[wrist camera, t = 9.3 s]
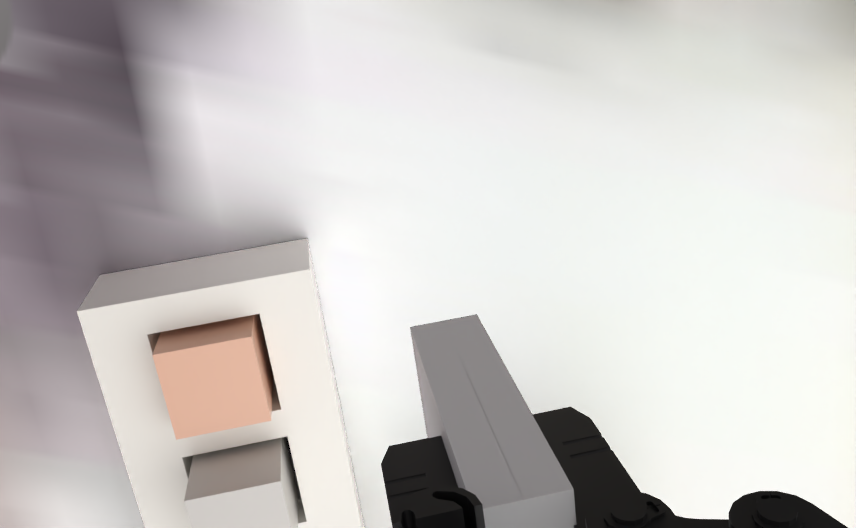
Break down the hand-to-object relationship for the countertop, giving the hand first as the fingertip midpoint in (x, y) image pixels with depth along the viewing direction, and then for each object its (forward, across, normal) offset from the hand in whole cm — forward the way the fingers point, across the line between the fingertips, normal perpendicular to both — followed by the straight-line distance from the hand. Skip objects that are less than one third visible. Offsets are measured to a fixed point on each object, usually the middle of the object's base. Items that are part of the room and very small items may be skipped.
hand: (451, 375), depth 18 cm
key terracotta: (+26, -9, -9) cm, 29 cm away
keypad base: (+26, -9, -16) cm, 32 cm away
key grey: (+24, -9, -16) cm, 30 cm away
